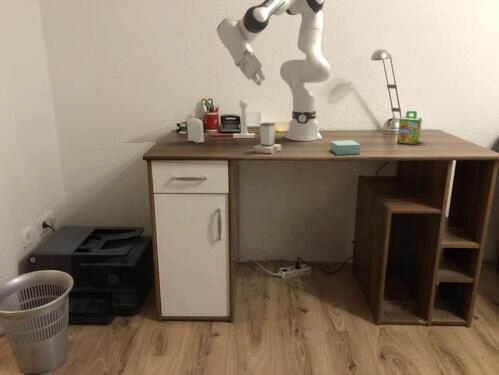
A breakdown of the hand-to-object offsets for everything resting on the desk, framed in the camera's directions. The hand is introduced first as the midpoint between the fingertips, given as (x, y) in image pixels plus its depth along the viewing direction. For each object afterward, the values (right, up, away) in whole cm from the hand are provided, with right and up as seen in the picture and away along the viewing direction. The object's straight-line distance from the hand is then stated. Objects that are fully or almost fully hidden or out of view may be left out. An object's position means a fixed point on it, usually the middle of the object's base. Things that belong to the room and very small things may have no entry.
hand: (261, 82), depth 182 cm
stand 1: (+3, -28, +11) cm, 30 cm away
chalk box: (+72, -23, +24) cm, 79 cm away
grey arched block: (-32, -22, +33) cm, 51 cm away
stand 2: (+37, -29, +6) cm, 47 cm away
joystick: (-8, -19, +43) cm, 48 cm away
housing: (+3, -26, +10) cm, 28 cm away
